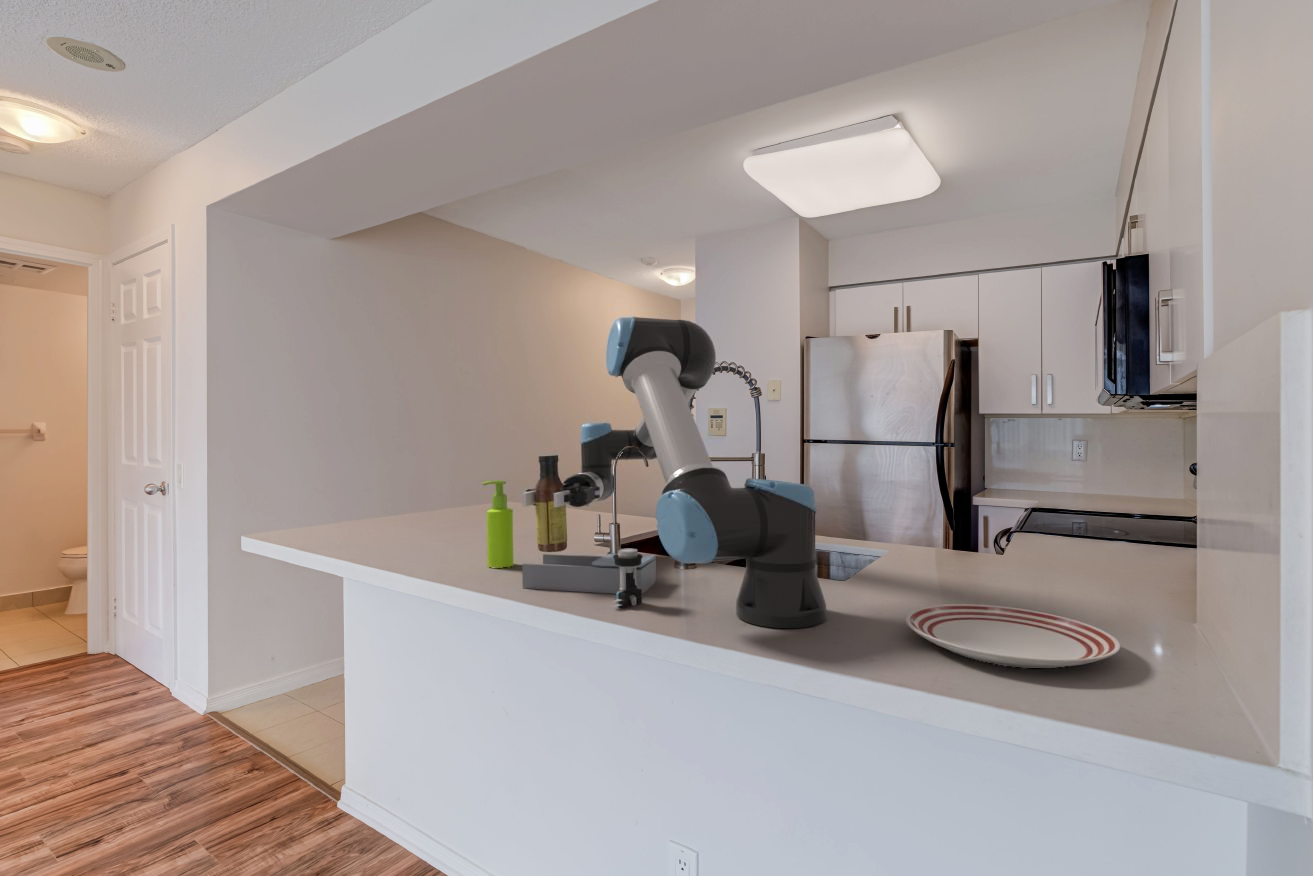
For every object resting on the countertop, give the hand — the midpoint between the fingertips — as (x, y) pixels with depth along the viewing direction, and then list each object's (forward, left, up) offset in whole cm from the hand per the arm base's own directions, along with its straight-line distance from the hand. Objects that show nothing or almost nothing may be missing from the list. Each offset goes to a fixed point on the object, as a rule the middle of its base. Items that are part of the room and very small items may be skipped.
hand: (539, 499), depth 132 cm
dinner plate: (-81, +16, -18) cm, 85 cm away
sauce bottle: (0, -5, -11) cm, 12 cm away
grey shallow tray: (-9, -5, -18) cm, 20 cm away
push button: (-20, +8, -18) cm, 28 cm away
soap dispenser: (+19, -17, -18) cm, 31 cm away
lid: (-16, -5, -13) cm, 21 cm away
